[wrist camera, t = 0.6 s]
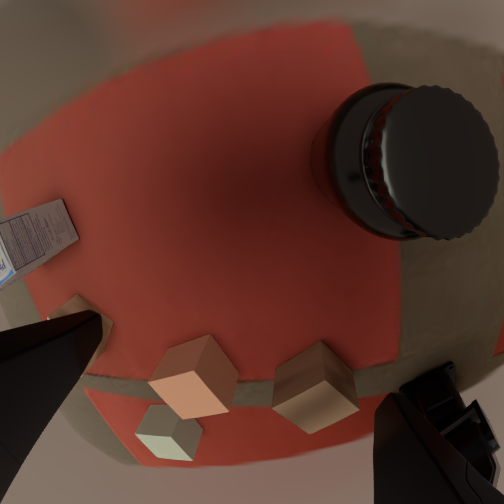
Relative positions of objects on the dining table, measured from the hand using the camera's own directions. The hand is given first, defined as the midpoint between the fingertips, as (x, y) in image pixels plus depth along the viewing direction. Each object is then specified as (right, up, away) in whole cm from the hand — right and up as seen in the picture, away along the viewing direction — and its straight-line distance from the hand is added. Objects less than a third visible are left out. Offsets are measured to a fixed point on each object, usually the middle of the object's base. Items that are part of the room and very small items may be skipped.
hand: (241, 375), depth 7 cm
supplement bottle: (+8, +10, +10) cm, 16 cm away
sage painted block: (-9, -17, +22) cm, 28 cm away
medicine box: (-20, +5, +16) cm, 26 cm away
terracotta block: (-4, -7, +18) cm, 19 cm away
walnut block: (+6, -7, +16) cm, 19 cm away
